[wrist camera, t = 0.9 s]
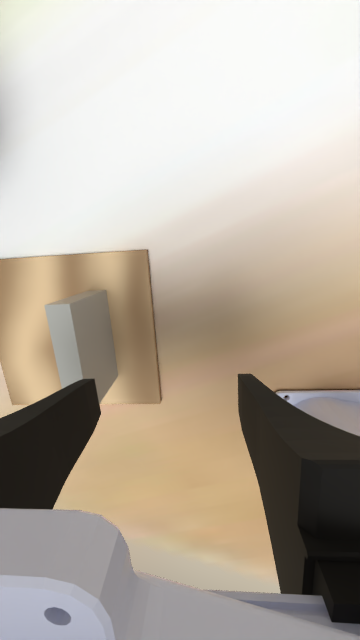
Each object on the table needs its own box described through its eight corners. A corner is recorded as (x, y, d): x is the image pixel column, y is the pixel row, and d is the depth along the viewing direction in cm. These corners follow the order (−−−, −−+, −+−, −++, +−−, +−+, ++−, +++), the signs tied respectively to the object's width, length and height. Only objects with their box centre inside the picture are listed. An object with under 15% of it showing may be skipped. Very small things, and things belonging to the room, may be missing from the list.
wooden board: (147, 250, 20) (146, 249, 19) (161, 399, 23) (160, 403, 23) (-22, 260, 21) (-28, 261, 21) (16, 401, 25) (12, 404, 24)
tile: (106, 289, 20) (69, 303, 15) (118, 375, 22) (90, 418, 17) (86, 290, 20) (41, 305, 15) (100, 376, 23) (65, 418, 17)
